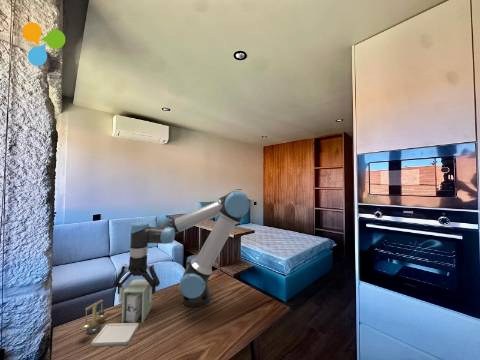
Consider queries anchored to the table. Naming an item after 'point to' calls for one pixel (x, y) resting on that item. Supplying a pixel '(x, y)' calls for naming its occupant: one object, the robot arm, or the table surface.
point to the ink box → (134, 307)
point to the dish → (115, 334)
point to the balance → (93, 319)
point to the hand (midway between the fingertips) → (136, 300)
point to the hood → (146, 305)
